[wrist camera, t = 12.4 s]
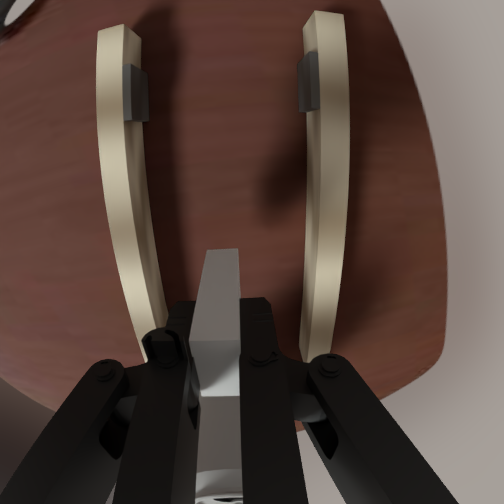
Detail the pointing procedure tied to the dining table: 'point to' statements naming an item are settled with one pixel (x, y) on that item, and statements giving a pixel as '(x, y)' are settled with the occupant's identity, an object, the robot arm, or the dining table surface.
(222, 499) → the can
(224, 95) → the dining table surface
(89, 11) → the dining table surface
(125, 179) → the chute
